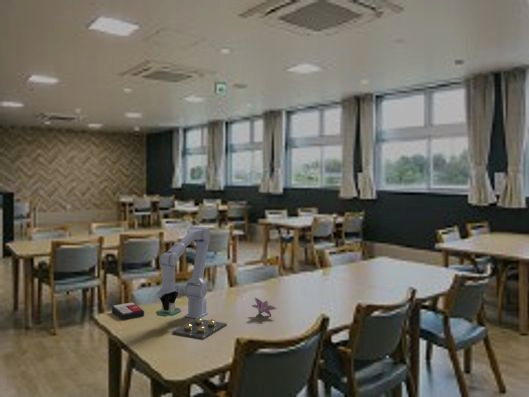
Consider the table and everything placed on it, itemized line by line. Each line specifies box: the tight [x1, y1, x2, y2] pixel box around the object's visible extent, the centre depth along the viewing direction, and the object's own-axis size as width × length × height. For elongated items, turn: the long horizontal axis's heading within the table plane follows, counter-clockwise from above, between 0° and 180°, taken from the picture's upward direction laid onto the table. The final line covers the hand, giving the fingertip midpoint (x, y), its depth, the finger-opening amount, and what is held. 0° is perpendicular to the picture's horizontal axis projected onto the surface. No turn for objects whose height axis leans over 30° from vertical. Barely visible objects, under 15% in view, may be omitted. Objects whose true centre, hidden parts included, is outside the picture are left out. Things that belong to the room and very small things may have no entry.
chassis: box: [171, 317, 228, 340], centre depth 203 cm, size 20×16×4 cm
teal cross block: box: [155, 302, 182, 318], centre depth 204 cm, size 11×9×4 cm
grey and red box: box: [111, 302, 145, 321], centre depth 224 cm, size 11×4×15 cm
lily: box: [251, 297, 277, 319], centre depth 222 cm, size 12×12×10 cm
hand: (168, 309), depth 204 cm, fingers closed on teal cross block, 3 cm apart
